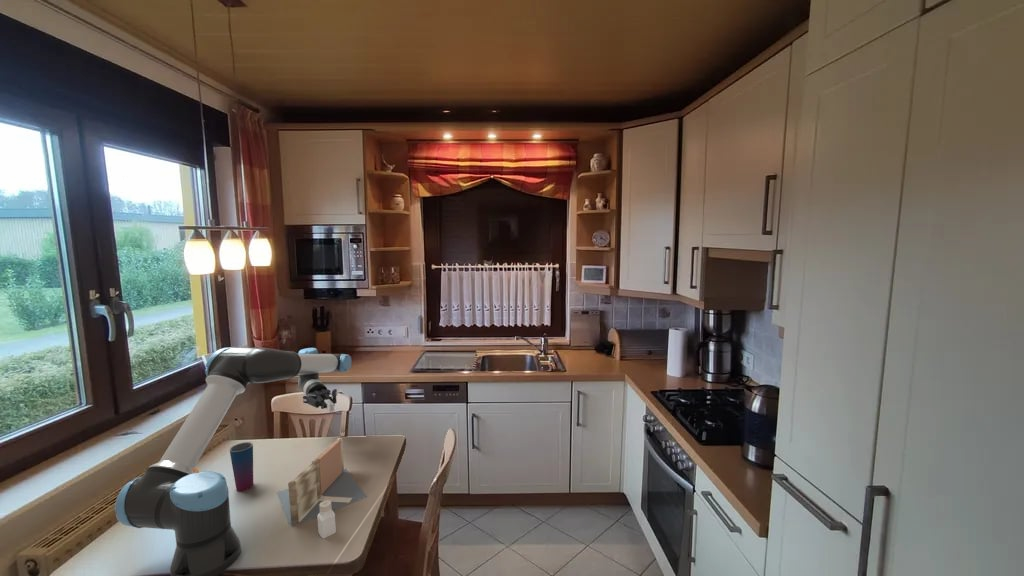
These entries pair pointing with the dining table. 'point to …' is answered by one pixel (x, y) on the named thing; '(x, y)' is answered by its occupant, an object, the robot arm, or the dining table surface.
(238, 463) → the cup
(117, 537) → the dining table surface
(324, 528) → the salt shaker
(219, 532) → the robot arm
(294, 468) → the dining table surface
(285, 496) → the card
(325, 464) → the pink wooden flat board
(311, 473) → the fixed fence section
